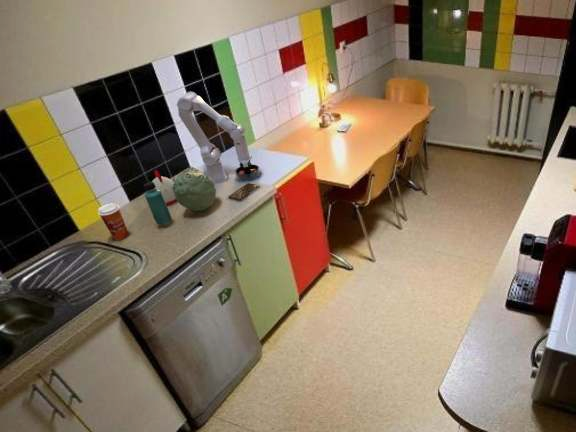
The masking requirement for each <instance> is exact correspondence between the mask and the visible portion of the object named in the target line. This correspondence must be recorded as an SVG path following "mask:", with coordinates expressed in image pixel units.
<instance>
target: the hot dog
mask: <svg viewBox="0 0 576 432" xmlns="http://www.w3.org/2000/svg"><path fill="white" fill-rule="evenodd" d="M255 171H256V169H250V172H251V173H253V172H255ZM239 174H245V172H244V171H240V172H239Z"/></svg>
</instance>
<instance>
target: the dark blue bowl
mask: <svg viewBox="0 0 576 432" xmlns="http://www.w3.org/2000/svg"><path fill="white" fill-rule="evenodd" d="M250 169H256V171H255V172H253V173H250V174H239V172H240V171H243V169H242V168H241V167H240V166H238V167H236V168H235V170H234V174H235V178H236V180H237V181H239V182H251V181H254V180H257V179H258V178H259V177H260V176H261V170H260V166H259V165H257V164H252V163H251V167H250Z"/></svg>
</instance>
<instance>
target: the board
mask: <svg viewBox="0 0 576 432" xmlns="http://www.w3.org/2000/svg"><path fill="white" fill-rule="evenodd" d="M259 187H260V185H259V184H255V183H250V182H247V183H246V184H244V185H243V186H241V187H240V188H238V189H237V190H235V191H233V192H232V193H231V194H230V195H228V199H229V200H235V201H239V202H241V201H243V200H244V199H245V198H247V197H248V196H250V195H251V194H252V192H253V191H255V190H257V189H258V188H259Z"/></svg>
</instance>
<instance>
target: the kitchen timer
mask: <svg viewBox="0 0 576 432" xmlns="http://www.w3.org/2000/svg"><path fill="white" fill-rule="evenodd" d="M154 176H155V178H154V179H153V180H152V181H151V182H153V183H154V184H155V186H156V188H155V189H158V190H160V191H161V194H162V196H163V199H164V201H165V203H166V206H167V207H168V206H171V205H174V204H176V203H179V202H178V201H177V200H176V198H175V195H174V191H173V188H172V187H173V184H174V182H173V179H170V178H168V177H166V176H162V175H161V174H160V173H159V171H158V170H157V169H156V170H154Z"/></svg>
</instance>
